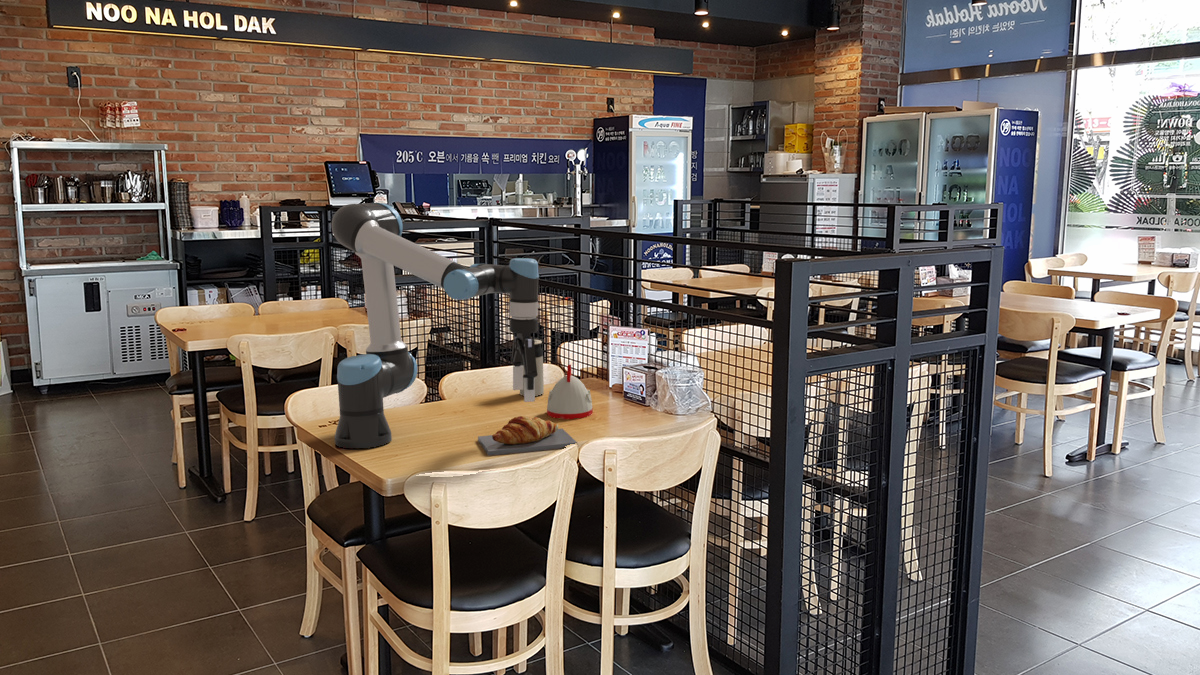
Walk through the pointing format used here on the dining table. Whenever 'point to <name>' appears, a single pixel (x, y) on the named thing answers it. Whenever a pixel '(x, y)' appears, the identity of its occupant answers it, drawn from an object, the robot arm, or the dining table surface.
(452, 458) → the dining table surface
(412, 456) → the dining table surface
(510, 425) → the croissant
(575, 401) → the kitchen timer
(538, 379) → the travel mug
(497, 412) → the dining table surface
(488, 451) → the slate board
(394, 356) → the robot arm
